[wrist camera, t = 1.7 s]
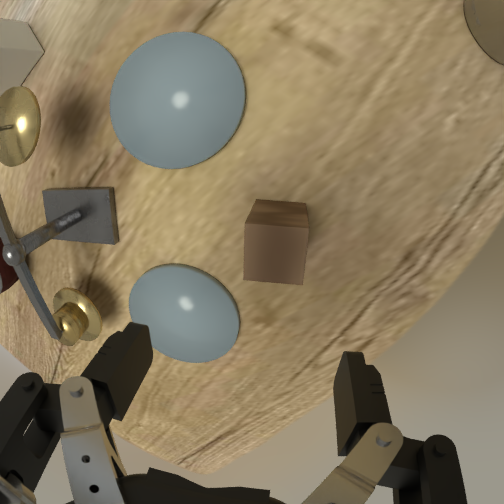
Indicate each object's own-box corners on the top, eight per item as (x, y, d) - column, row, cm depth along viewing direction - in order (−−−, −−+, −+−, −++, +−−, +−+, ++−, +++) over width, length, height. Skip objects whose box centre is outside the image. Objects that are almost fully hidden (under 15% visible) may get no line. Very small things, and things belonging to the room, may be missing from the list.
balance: (111, 79, 25) (9, 72, 12) (133, 325, 36) (80, 403, 24) (43, 95, 26) (-51, 105, 14) (72, 312, 37) (15, 374, 25)
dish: (240, 269, 31) (239, 274, 30) (239, 363, 37) (237, 369, 36) (125, 258, 33) (120, 262, 32) (141, 348, 38) (138, 352, 37)
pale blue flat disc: (248, 30, 22) (246, 27, 21) (243, 169, 27) (241, 170, 26) (117, 45, 23) (112, 43, 22) (116, 168, 29) (111, 169, 28)
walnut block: (305, 203, 28) (309, 228, 22) (301, 248, 30) (302, 285, 23) (256, 199, 28) (244, 223, 22) (254, 244, 30) (243, 279, 24)
